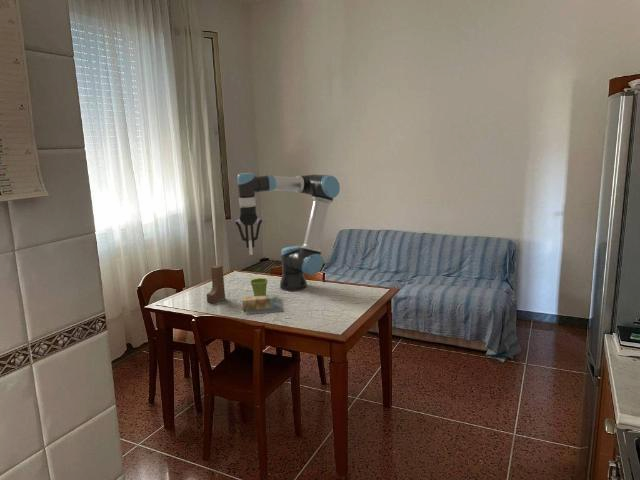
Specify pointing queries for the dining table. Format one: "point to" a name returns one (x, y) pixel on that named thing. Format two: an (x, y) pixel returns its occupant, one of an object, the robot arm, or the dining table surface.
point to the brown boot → (216, 285)
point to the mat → (268, 309)
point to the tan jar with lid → (258, 302)
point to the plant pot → (259, 286)
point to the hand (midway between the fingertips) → (251, 254)
